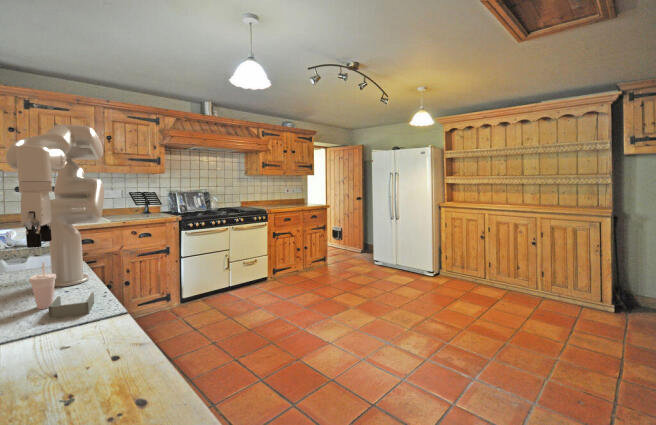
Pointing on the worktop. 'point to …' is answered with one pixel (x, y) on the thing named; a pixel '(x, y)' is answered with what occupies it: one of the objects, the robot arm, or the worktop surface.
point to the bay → (70, 308)
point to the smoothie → (43, 288)
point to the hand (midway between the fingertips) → (40, 244)
